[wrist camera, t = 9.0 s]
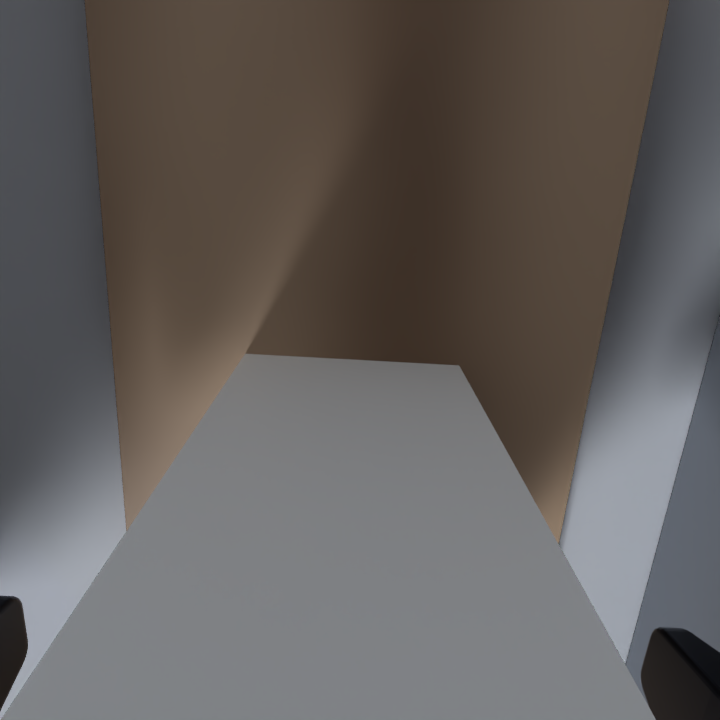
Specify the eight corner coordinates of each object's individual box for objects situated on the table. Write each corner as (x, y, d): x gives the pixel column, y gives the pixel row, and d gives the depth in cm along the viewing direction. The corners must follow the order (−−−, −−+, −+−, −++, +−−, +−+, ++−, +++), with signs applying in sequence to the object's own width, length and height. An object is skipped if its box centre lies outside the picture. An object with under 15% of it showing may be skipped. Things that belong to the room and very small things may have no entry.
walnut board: (158, 804, 15) (150, 830, 14) (95, -95, 9) (75, -115, 8) (491, 818, 15) (497, 843, 14) (662, -52, 9) (683, -68, 8)
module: (244, 614, 12) (47, 1360, 4) (242, 353, 10) (-101, 857, 3) (430, 623, 12) (553, 1370, 4) (461, 365, 10) (759, 887, 3)
